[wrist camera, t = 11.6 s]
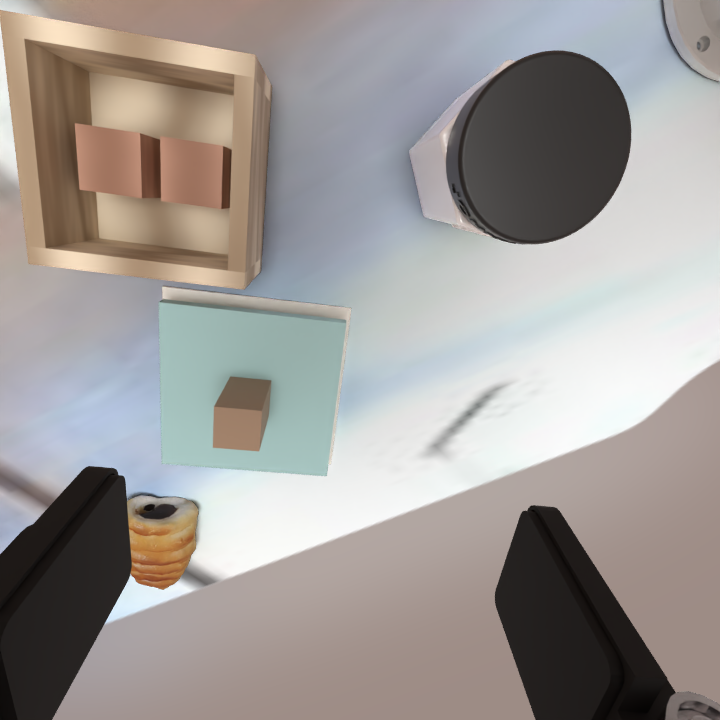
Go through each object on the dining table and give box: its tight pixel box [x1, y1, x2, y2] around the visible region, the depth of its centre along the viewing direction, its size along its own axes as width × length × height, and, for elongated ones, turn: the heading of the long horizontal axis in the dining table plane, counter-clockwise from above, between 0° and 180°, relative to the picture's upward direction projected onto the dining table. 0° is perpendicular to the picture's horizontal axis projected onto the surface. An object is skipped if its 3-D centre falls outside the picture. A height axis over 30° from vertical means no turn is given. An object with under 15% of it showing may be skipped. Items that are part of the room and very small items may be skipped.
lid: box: [159, 299, 346, 476], centre depth 32 cm, size 13×13×8 cm
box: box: [0, 10, 272, 289], centre depth 27 cm, size 12×12×7 cm
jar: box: [409, 51, 631, 244], centre depth 26 cm, size 9×8×12 cm
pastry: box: [127, 495, 199, 590], centre depth 39 cm, size 9×7×4 cm
